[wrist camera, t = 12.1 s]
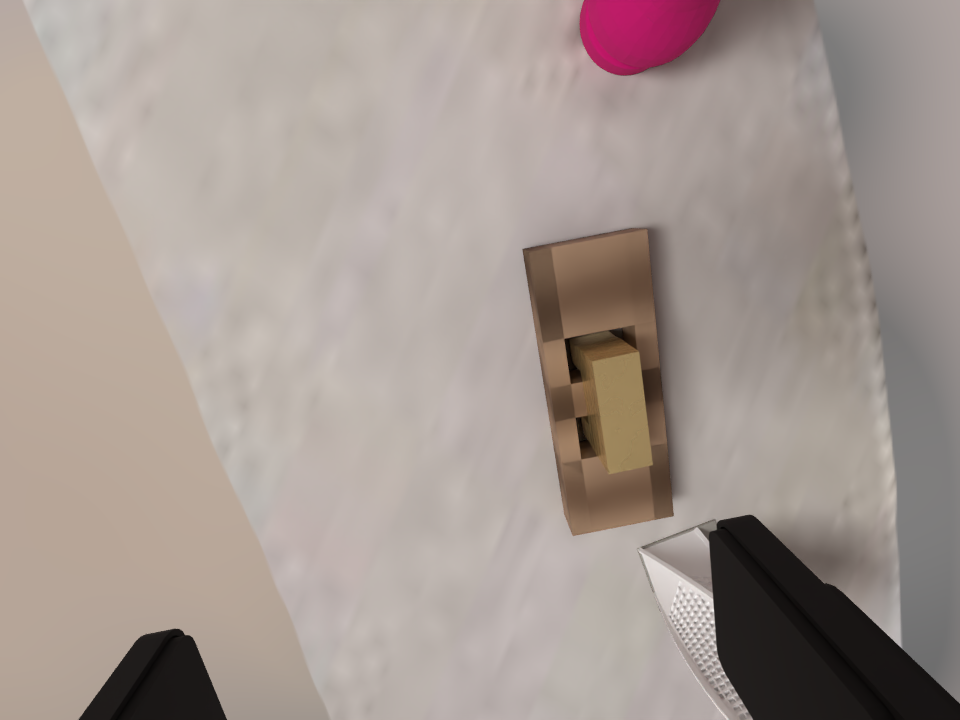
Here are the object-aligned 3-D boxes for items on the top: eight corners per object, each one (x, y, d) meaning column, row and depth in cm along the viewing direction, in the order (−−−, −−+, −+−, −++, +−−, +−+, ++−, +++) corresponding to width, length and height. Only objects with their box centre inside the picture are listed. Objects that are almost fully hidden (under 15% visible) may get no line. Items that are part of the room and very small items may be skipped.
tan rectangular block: (568, 337, 39) (592, 361, 33) (607, 329, 39) (639, 351, 33) (583, 434, 41) (608, 474, 35) (620, 426, 41) (652, 465, 35)
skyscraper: (643, 614, 47) (908, 1148, 20) (616, 542, 45) (871, 1033, 18) (732, 580, 47) (1123, 1079, 20) (709, 506, 44) (1113, 953, 18)
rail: (522, 249, 37) (528, 251, 35) (631, 228, 38) (647, 229, 35) (564, 514, 43) (572, 536, 41) (658, 496, 43) (673, 516, 41)
